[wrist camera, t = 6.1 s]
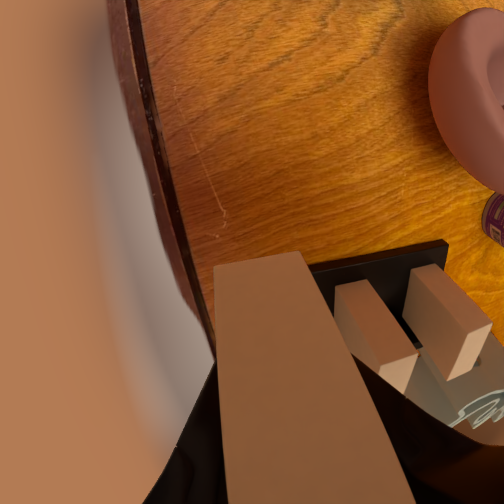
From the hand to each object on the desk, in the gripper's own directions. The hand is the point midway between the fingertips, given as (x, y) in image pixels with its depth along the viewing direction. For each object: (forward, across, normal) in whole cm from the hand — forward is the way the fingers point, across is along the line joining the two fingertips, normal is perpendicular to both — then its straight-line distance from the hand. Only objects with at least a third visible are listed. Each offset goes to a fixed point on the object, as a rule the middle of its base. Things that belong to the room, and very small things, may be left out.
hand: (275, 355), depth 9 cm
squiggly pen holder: (+13, -23, +24) cm, 36 cm away
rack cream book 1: (+11, -7, +9) cm, 16 cm away
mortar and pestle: (+13, -17, -7) cm, 22 cm away
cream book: (+2, 0, 0) cm, 2 cm away
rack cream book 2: (+11, -14, +9) cm, 20 cm away
